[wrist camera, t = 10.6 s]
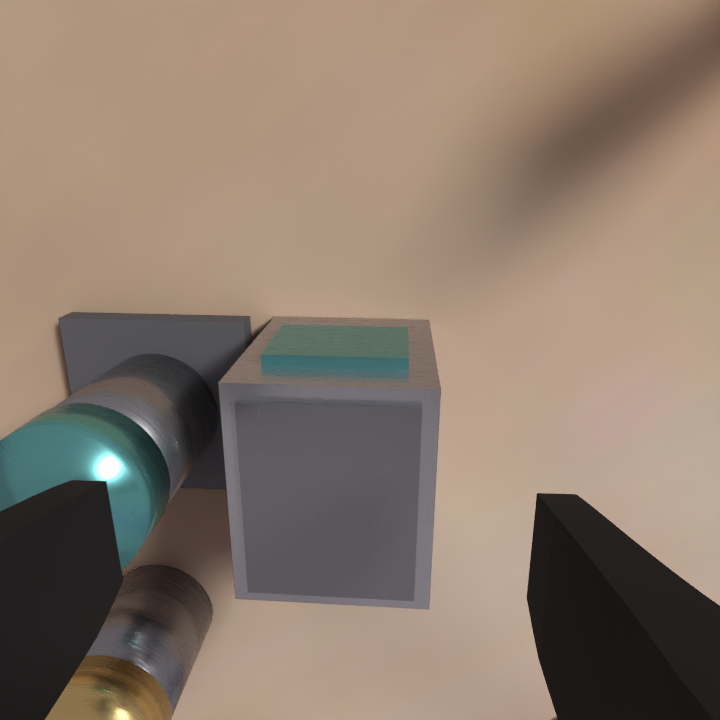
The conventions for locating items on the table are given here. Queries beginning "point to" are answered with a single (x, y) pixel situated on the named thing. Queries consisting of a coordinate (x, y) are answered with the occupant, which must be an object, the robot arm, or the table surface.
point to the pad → (165, 337)
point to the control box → (333, 462)
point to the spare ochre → (140, 650)
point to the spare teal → (117, 442)
